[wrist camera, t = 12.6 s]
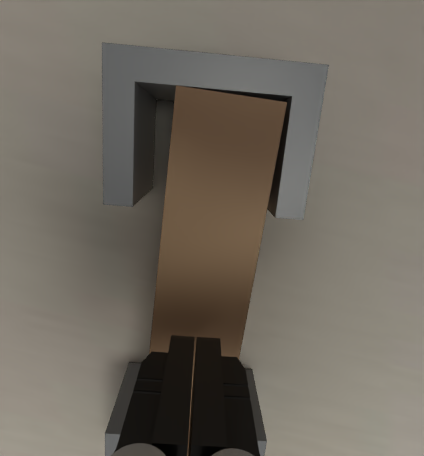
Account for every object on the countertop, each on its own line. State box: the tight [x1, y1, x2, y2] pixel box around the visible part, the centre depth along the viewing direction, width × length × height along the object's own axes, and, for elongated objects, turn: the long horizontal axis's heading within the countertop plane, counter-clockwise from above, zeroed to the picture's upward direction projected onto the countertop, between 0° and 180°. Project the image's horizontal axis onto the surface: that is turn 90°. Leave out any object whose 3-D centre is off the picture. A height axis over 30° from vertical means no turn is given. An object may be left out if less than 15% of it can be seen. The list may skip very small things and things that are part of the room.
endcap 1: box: [102, 43, 329, 220], centre depth 13 cm, size 5×7×4 cm
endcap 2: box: [105, 363, 267, 456], centre depth 17 cm, size 5×7×4 cm
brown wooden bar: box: [149, 85, 287, 456], centre depth 14 cm, size 16×4×5 cm, turn 172°
